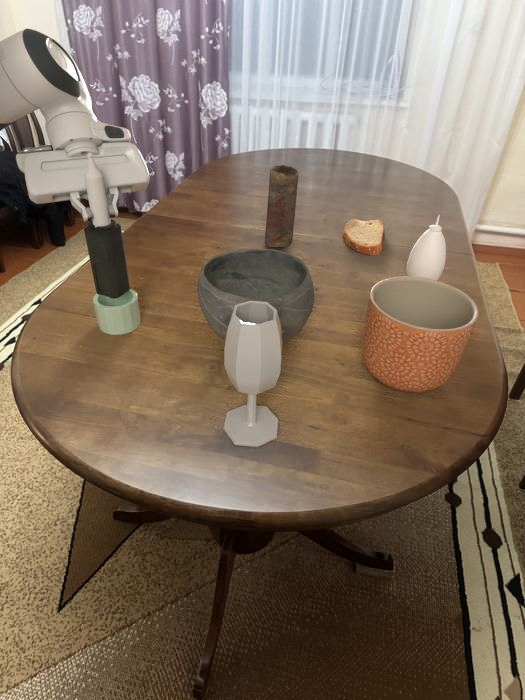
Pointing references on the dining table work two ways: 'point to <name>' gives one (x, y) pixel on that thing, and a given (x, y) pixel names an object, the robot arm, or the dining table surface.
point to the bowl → (256, 287)
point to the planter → (416, 332)
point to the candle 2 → (281, 206)
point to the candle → (104, 239)
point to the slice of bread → (365, 236)
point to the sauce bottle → (428, 254)
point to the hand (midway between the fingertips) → (101, 218)
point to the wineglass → (252, 370)
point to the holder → (117, 313)
